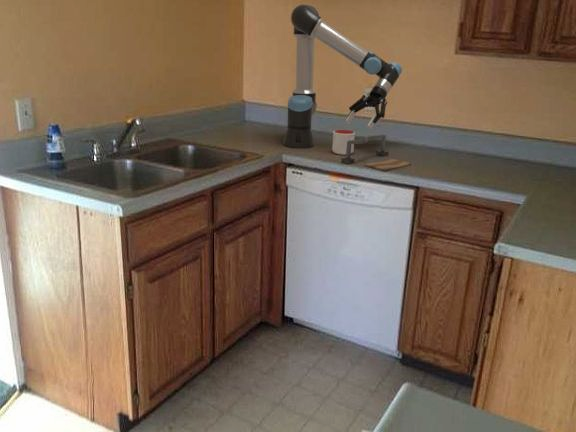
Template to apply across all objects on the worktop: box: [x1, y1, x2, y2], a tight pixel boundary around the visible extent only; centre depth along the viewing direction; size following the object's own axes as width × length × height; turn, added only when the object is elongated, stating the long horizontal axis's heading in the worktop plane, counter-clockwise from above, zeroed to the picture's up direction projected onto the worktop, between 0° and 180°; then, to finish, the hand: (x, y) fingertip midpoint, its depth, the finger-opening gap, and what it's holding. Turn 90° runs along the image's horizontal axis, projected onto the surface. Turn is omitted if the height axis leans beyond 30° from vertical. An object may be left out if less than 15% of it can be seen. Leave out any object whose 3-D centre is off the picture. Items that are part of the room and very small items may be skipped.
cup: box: [331, 129, 356, 156], centre depth 254 cm, size 10×10×10 cm
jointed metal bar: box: [341, 134, 389, 165], centre depth 244 cm, size 5×28×10 cm, turn 132°
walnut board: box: [364, 158, 412, 172], centre depth 236 cm, size 11×18×1 cm, turn 132°
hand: (357, 125), depth 256 cm, fingers open, 13 cm apart
